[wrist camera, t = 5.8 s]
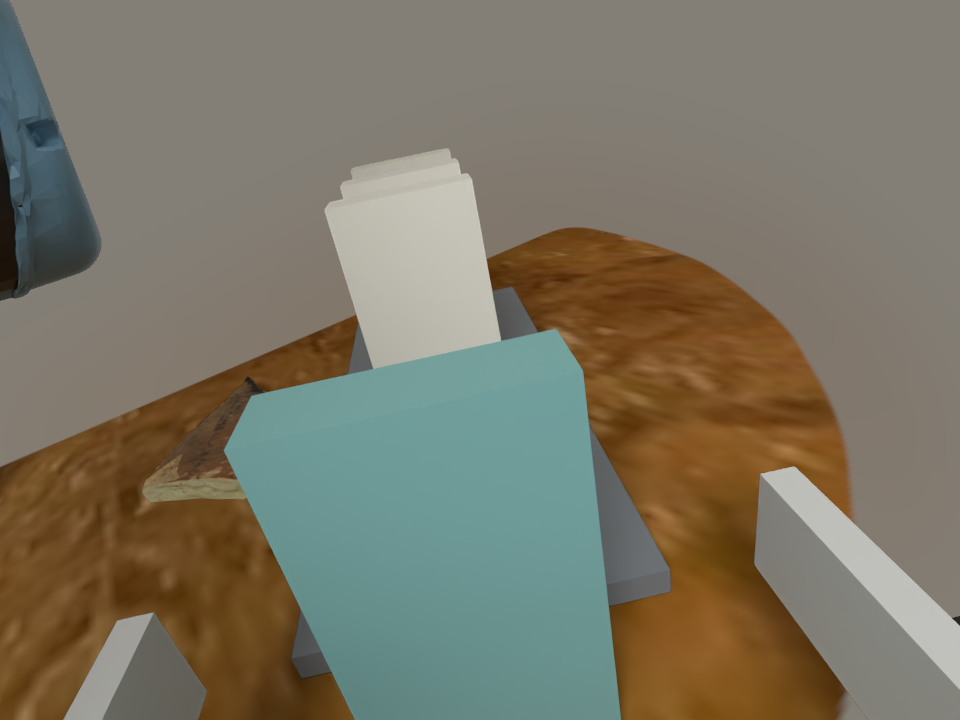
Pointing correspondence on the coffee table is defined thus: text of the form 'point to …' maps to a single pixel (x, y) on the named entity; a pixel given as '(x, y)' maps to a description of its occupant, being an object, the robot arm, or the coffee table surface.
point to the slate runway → (623, 532)
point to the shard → (203, 457)
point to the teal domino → (442, 532)
